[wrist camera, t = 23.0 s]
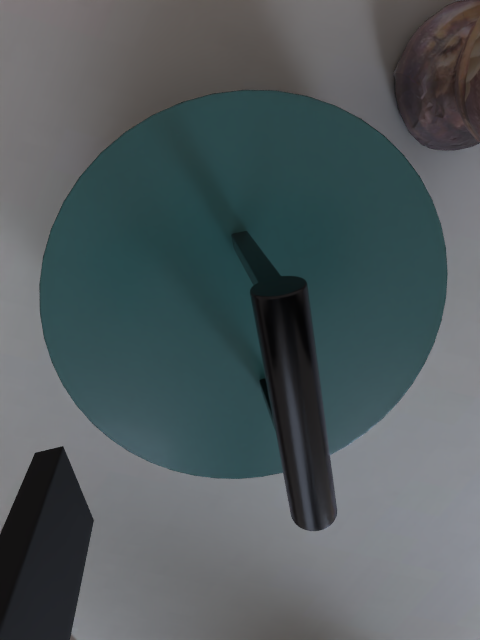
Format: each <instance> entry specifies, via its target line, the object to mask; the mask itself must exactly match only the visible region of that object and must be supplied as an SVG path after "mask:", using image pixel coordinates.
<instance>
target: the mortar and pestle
mask: <svg viewBox="0 0 480 640" xmlns="http://www.w3.org/2000/svg"><path fill="white" fill-rule="evenodd" d="M393 74H394V77H395V80H396V88H395V94H396V99H397V103H398V108H399V111H400V113H401V115H402V118H403V120H404V123H405V125H406V126H407V128H408V130H409V132H410V133H411V134H412V135H413V136H414V137H415V139H416V140H418V141H419V142H420V143H421V144H422V145H424V146H427V147H428V148H431V149H437V150H458V149H463V148H468V147H471V146H474V145H477V144H479V143H480V0H464V1H457V2H455V3H452V4H450V5H447V6H446V7H444V8H443V9H442V10H440V11H439V12H437V13H436V14H435V15H433V16H432V17H431V18H429V19H428V20H427V21H425V22H424V23H423V24H422V25H421V26H420V27H419V28H418V29H417V31H416V32H415V34H414V35H413V36H412V38H411V39H410V41H409V42H408V44H407V46H406V48H405V50H404V52H403V54H402V56H401V59H400V61H399V63H398V65H397V67H396V69H395V71H394V73H393Z"/></svg>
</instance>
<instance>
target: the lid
mask: <svg viewBox="0 0 480 640" xmlns="http://www.w3.org/2000/svg"><path fill="white" fill-rule="evenodd" d="M39 287H40V316H41V322H42V328H43V334H44V339H45V342H46V345H47V348H48V351H49V355H50V358H51V361H52V363H53V366H54V368H55V370H56V372H57V374H58V376H59V378H60V380H61V382H62V384H63V386H64V387H65V389H66V390H67V392H68V393H69V395H70V396H71V398H72V399H73V401H74V402H75V404H76V405H77V407H78V408H79V409H80V410H81V411H82V412H83V413H84V414H85V416H86V417H87V418H88V419H89V420H90V421H91V422H92V423H93V424H94V425H95V426H96V427H97V428H98V429H99V430H101V431H102V432H103V433H104V434H105V435H106V436H107V437H109V438H110V439H111V440H113V441H114V442H116V443H117V444H119V445H120V446H122V447H123V448H125V449H126V450H128V451H129V452H131V453H133V454H135V455H137V456H139V457H141V458H143V459H145V460H147V461H149V462H151V463H154V464H156V465H159V466H162V467H165V468H167V469H170V470H173V471H177V472H182V473H186V474H190V475H194V476H202V477H210V478H228V479H241V478H253V477H263V476H268V475H273V474H278V473H283V474H284V480H285V485H286V491H287V496H288V501H289V507H290V512H291V517H292V519H293V521H294V522H295V524H296V525H298V526H299V527H300V528H302V529H305V530H308V531H319V530H323V529H325V528H327V527H329V526H330V525H331V524H332V523H333V522H334V520H335V518H336V516H337V506H336V499H335V491H334V483H333V476H332V468H331V460H330V455H331V454H333V453H335V452H337V451H339V450H340V449H342V448H344V447H346V446H347V445H349V444H350V443H352V442H353V441H355V440H356V439H358V438H359V437H361V436H362V435H364V434H365V433H366V432H367V431H369V430H370V429H371V428H372V427H373V426H374V425H376V424H377V423H378V422H379V421H380V420H382V419H383V418H384V417H385V416H386V414H387V413H388V412H389V411H390V410H391V409H392V408H393V407H394V406H395V405H396V404H397V403H398V402H399V401H400V399H401V398H402V397H403V395H404V394H405V393H406V392H407V390H408V389H409V388H410V386H411V385H412V384H413V382H414V380H415V379H416V377H417V375H418V374H419V372H420V370H421V369H422V367H423V366H424V364H425V362H426V359H427V357H428V355H429V353H430V351H431V349H432V346H433V344H434V342H435V339H436V336H437V332H438V329H439V326H440V323H441V320H442V315H443V310H444V305H445V299H446V288H447V258H446V247H445V242H444V237H443V232H442V227H441V223H440V220H439V218H438V215H437V212H436V209H435V207H434V204H433V201H432V199H431V197H430V195H429V193H428V191H427V189H426V187H425V186H424V184H423V182H422V180H421V178H420V176H419V175H418V174H417V172H416V171H415V170H414V168H413V167H412V166H411V164H410V163H409V162H408V160H407V159H406V158H405V156H404V155H403V154H402V153H401V152H400V151H399V150H398V149H397V148H396V147H395V146H394V145H393V144H392V143H391V142H390V141H389V140H388V139H387V138H386V137H385V136H384V135H382V134H381V133H380V132H378V131H377V130H376V129H374V128H373V127H372V126H370V125H369V124H367V123H366V122H365V121H363V120H362V119H360V118H358V117H356V116H354V115H353V114H351V113H349V112H347V111H345V110H343V109H341V108H339V107H337V106H335V105H332V104H329V103H326V102H323V101H320V100H317V99H314V98H311V97H308V96H304V95H299V94H293V93H287V92H282V91H274V90H239V91H231V92H222V93H214V94H210V95H206V96H203V97H199V98H195V99H192V100H188V101H184V102H181V103H179V104H177V105H174V106H172V107H170V108H168V109H165V110H163V111H161V112H159V113H156V114H154V115H152V116H150V117H149V118H147V119H145V120H144V121H142V122H141V123H139V124H137V125H136V126H134V127H133V128H131V129H129V130H128V131H126V132H125V133H124V134H122V135H121V136H120V137H119V138H118V139H117V140H115V141H114V142H113V143H112V144H111V145H109V146H108V147H107V148H106V149H105V150H104V151H102V152H101V153H100V154H99V155H98V157H97V158H96V159H95V160H94V161H93V162H92V163H91V165H90V166H89V167H88V168H87V169H86V170H85V171H84V173H83V174H82V175H81V176H80V177H79V179H78V180H77V182H76V184H75V185H74V187H73V188H72V190H71V191H70V193H69V194H68V196H67V197H66V199H65V200H64V202H63V204H62V206H61V209H60V211H59V213H58V215H57V217H56V220H55V222H54V224H53V226H52V228H51V231H50V235H49V238H48V242H47V245H46V249H45V252H44V256H43V262H42V269H41V277H40V284H39Z"/></svg>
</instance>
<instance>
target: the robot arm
mask: <svg viewBox="0 0 480 640" xmlns="http://www.w3.org/2000/svg"><path fill="white" fill-rule="evenodd" d="M93 522H94V520H93V517H92V515H91V512H90V510H89V508H88V505H87V503H86V500H85V498H84V495H83V493H82V491H81V488H80V486H79V483H78V481H77V479H76V476H75V474H74V471H73V469H72V467H71V464H70V462H69V459H68V457H67V455H66V452H65V450H64V447H63V446H62V447H58V448H54V449H49V450H45V451H41V452H37V453H35V454H34V457H33V459H32V461H31V464H30V466H29V468H28V471H27V473H26V475H25V478H24V480H23V482H22V485H21V487H20V489H19V492H18V494H17V496H16V499H15V501H14V503H13V506H12V508H11V510H10V513H9V515H8V517H7V520H6V522H5V524H4V527H3V529H2V531H1V533H0V640H70V636H71V631H72V626H73V621H74V616H75V611H76V606H77V601H78V596H79V591H80V586H81V581H82V576H83V571H84V566H85V561H86V557H87V552H88V547H89V542H90V537H91V532H92V527H93Z"/></svg>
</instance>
